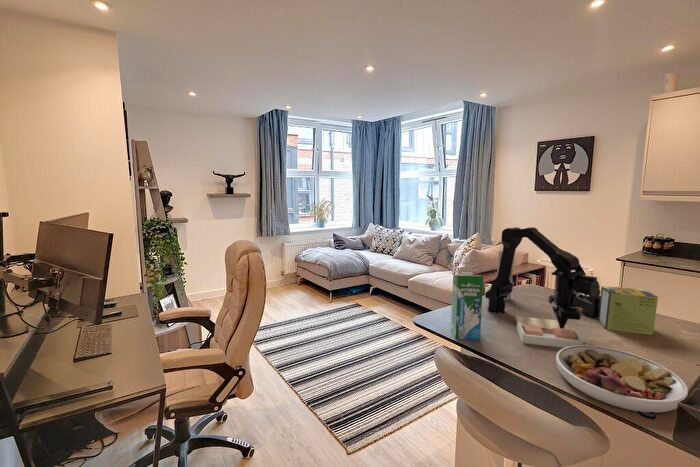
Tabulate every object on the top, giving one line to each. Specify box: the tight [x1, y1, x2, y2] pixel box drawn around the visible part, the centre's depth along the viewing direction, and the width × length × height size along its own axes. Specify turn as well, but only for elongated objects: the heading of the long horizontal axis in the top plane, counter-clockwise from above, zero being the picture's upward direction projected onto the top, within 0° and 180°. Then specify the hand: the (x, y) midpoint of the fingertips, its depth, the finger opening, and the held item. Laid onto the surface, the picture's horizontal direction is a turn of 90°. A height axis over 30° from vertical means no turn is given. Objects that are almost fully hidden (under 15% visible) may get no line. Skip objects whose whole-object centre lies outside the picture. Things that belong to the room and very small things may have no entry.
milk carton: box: [450, 271, 484, 341], centre depth 132 cm, size 9×9×25 cm
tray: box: [516, 322, 587, 349], centre depth 128 cm, size 20×12×3 cm, turn 73°
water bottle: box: [496, 248, 516, 302], centre depth 171 cm, size 9×8×25 cm
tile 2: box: [552, 328, 576, 340], centre depth 129 cm, size 6×6×2 cm
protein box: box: [597, 285, 659, 336], centre depth 138 cm, size 10×15×16 cm
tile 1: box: [523, 324, 544, 336], centre depth 132 cm, size 6×6×2 cm
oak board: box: [515, 315, 571, 333], centre depth 139 cm, size 18×10×2 cm, turn 73°
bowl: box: [555, 344, 689, 414], centre depth 100 cm, size 30×30×8 cm
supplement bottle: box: [581, 289, 601, 319], centre depth 151 cm, size 7×7×12 cm
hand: (561, 328), depth 130 cm, fingers closed
